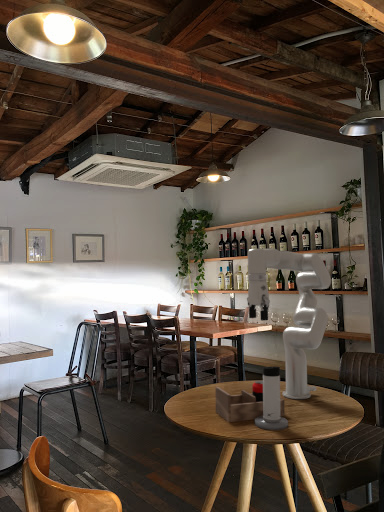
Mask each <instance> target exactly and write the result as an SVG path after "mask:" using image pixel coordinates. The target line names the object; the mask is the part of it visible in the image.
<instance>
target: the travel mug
mask: <svg viewBox="0 0 384 512" xmlns="http://www.w3.org/2000/svg"><path fill="white" fill-rule="evenodd" d="M280 369H281V367H280V366H267V367H264V366H263V367H262V381H263V415H264V416H263V420H264V421H265V422H268V423H278V422H280V421H281V417H282V416H280V398H281V374H280V373H281V372H280Z"/></svg>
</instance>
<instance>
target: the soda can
mask: <svg viewBox="0 0 384 512" xmlns="http://www.w3.org/2000/svg"><path fill="white" fill-rule="evenodd" d="M251 390H252V391H251V392H252V393H251V394H252V395H253V396H255V397H256V402H263V380H255V381H254V382H253V383H252V387H251Z"/></svg>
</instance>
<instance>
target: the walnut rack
mask: <svg viewBox="0 0 384 512" xmlns="http://www.w3.org/2000/svg"><path fill="white" fill-rule="evenodd" d="M285 407H286V406H285V399H283V398H281V397H280V417H284V416H285V415H286V414H285V413H286V412H285ZM215 413H217V415H219V416H220V417H221V418H223V419H224V420H225V421H227V423H232V422H241V421H248V420H249V421H250V420H255V418H256V417H258V416H263V402H256V397H255V396H253V395H252V393H250V392H247V391H246V390H245V389H242V390H241V393H240V394H232V395H231V394H230V393H229V392H227V391H225V390H224V389H222V388H220V387H219V386H215Z"/></svg>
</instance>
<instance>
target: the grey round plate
mask: <svg viewBox="0 0 384 512" xmlns="http://www.w3.org/2000/svg"><path fill="white" fill-rule="evenodd" d="M263 416H264V415H263ZM263 416H258V417H256V418H255V419H254V425H255V426H256V427H257V428H259V429H263V430H268V431H280V430H281V431H282V430H284V429H286V428H288V426H289V421H288V419H286V418H285V417H284V416H280V417H281V421H280V422H278V423H268V422H265V421H264V420H263Z"/></svg>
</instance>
